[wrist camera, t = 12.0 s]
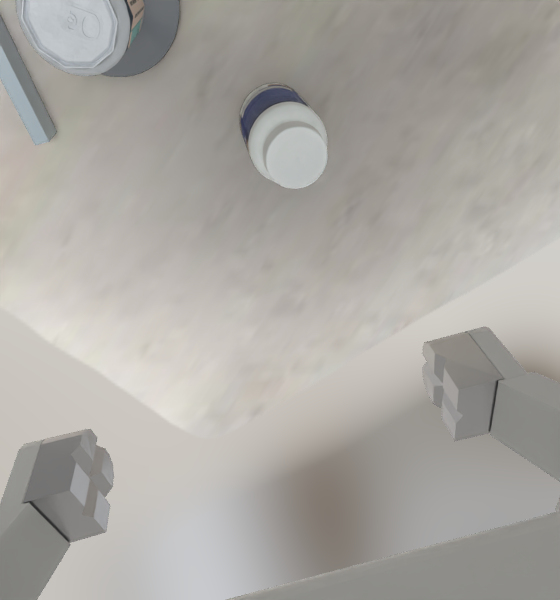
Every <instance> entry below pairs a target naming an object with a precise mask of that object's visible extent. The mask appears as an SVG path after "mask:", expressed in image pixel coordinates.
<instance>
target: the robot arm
mask: <svg viewBox="0 0 560 600" xmlns="http://www.w3.org/2000/svg"><path fill="white" fill-rule="evenodd" d="M423 356H424V357H425V359H426V361H427V362H426V364H425V365H424V366H423V380H424V384H425V388H426V390H427V393H428V395H429V397H430V399H431V401H432V403H433V404H434V405H436V406H438V407H440V408H442V420H443V422H444V424H445V425H446V427H447V429H448V431H449V432H450V434H451V436H452V437H453V439H454V441H458V440H462V439H467V438H471V437H475V436H479V435H484V434H488V433H490V435H491V436H492V437H494V438H495V439H497V440H498V441H500V442H501V443H503V444H504V445H506V446H507V447H509V448H510V449H512V450H513V451H515V452H516V453H518V454H519V455H521V456H522V457H524V458H525V459H527V460H528V461H530V462H531V463H532V464H534V465H535V466H537V467H539V468H540V469H542V470H543V471H544V472H546V473H547V474H549V475H550V476H552V477H554V478H555V479H556V480H558V481H559V482H560V383H559V382H556V381H554V380H552V379H549V378H547V377H545V376H542V375H540V374H537V373H535V372H532V373H527V372H526V371H525V369H524V368H523V367H522V366H521V365H520V364H519V362H518V361H517V360H516V359H515V358H514V357H513V355H512V354H511V353H510V352H509V351H508V350H507V348H506V347H505V346H504V345H503V344H502V343H501V341H500V340H499V339H498V338H497V337H496V335H495V334H494V333H493V332H492V331H491V330H490V329H489V328H487V327H481V328H478V329H474V330H470V331H466V332H462V333H458V334H454V335H451V336H447V337H443V338H440V339H436V340H432V341H429V342H424V345H423ZM96 442H97V437H96V435H95V434H94V433H93V431H92V430H91V429H88V430H82V431H78V432H73V433H69V434H64V435H60V436H56V437H51V438H47V439H44V440H40V441H35V442H31V443H27V444H24V445H23V446H22V447H21V448H20V449H19V451H18V454H17V457H16V460H15V462H14V466H13V468H12V471H11V474H10V477H9V480H8V483H7V486H6V488H5V491H4V494H3V497H2V500H1V503H0V600H37V599H38V597H39V596H40V594H41V592H42V591H43V589H44V587H45V586H46V584H47V583H48V581H49V579H50V578H51V576H52V574H53V573H54V571H55V569H56V568H57V566H58V565H59V563H60V561H61V560H62V558H63V556H64V555H65V553H66V551H67V550H68V548H69V546H70V542H74V541H77V540H81V539H85V538H88V537H91V536H95V535H98V534H101V533H105V532H106V530H107V523H108V515H109V509H110V504H109V503H108V501H107V500H106V499H105V497H106V495H107V494H108V493H109V491H110V490H111V488H112V487H113V479H114V473H113V464H112V461H111V458H110V455H109V454H108V452H107V451H106V449H104V448H102V447H99V446H97V445H96ZM555 510H556V512H554V513H551V514H547V515H543V516H540V517H535V518H532V519H528V520H524V521H520V522H517V523H513V524H509V525H506V526H502V527H498V528H494V529H490V530H487V531H483V532H479V533H475V534H472V535H468V536H464V537H461V538H456V539H453V540H449V541H446V542H441V543H438V544H434V545H430V546H427V547H423V548H419V549H415V550H411V551H408V552H404V553H400V554H396V555H393V556H389V557H385V558H381V559H377V560H373V561H370V562H366V563H362V564H358V565H355V566H351V567H347V568H344V569H340V570H336V571H332V572H328V573H324V574H321V575H317V576H313V577H309V578H306V579H302V580H298V581H294V582H291V583H287V584H284V585H279V586H276V587H272V588H268V589H264V590H261V591H257V592H253V593H249V594H246V595H242V596H238V597H234V598H230V599H227V600H560V497H559V500H558V503H557V506H556V508H555Z"/></svg>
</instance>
